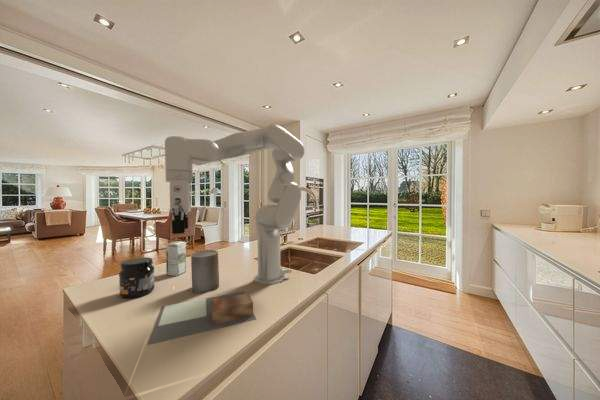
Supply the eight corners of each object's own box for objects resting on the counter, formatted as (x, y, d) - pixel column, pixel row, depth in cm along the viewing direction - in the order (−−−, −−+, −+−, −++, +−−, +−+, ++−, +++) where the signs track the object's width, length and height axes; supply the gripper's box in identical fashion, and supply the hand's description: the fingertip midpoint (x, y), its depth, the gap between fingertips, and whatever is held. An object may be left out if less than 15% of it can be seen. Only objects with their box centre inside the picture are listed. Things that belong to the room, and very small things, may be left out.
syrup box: (175, 271, 104) (174, 241, 104) (186, 271, 104) (186, 241, 103) (166, 275, 99) (165, 243, 99) (178, 276, 98) (177, 243, 98)
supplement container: (116, 294, 81) (115, 261, 80) (149, 284, 89) (148, 255, 88) (123, 302, 74) (122, 267, 74) (158, 292, 82) (158, 260, 82)
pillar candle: (215, 281, 92) (214, 245, 92) (222, 288, 84) (221, 250, 84) (189, 287, 86) (188, 249, 86) (194, 296, 78) (193, 254, 78)
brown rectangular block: (248, 305, 70) (248, 292, 70) (253, 315, 64) (252, 301, 64) (211, 313, 66) (211, 299, 66) (212, 324, 60) (212, 309, 60)
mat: (244, 292, 81) (244, 290, 81) (256, 320, 62) (256, 318, 62) (161, 307, 70) (161, 305, 70) (147, 346, 52) (147, 344, 52)
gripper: (190, 175, 63) (191, 234, 63) (194, 179, 79) (195, 226, 79) (159, 174, 60) (161, 236, 60) (170, 179, 76) (171, 228, 76)
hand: (180, 231), depth 70 cm, fingers open, 9 cm apart
